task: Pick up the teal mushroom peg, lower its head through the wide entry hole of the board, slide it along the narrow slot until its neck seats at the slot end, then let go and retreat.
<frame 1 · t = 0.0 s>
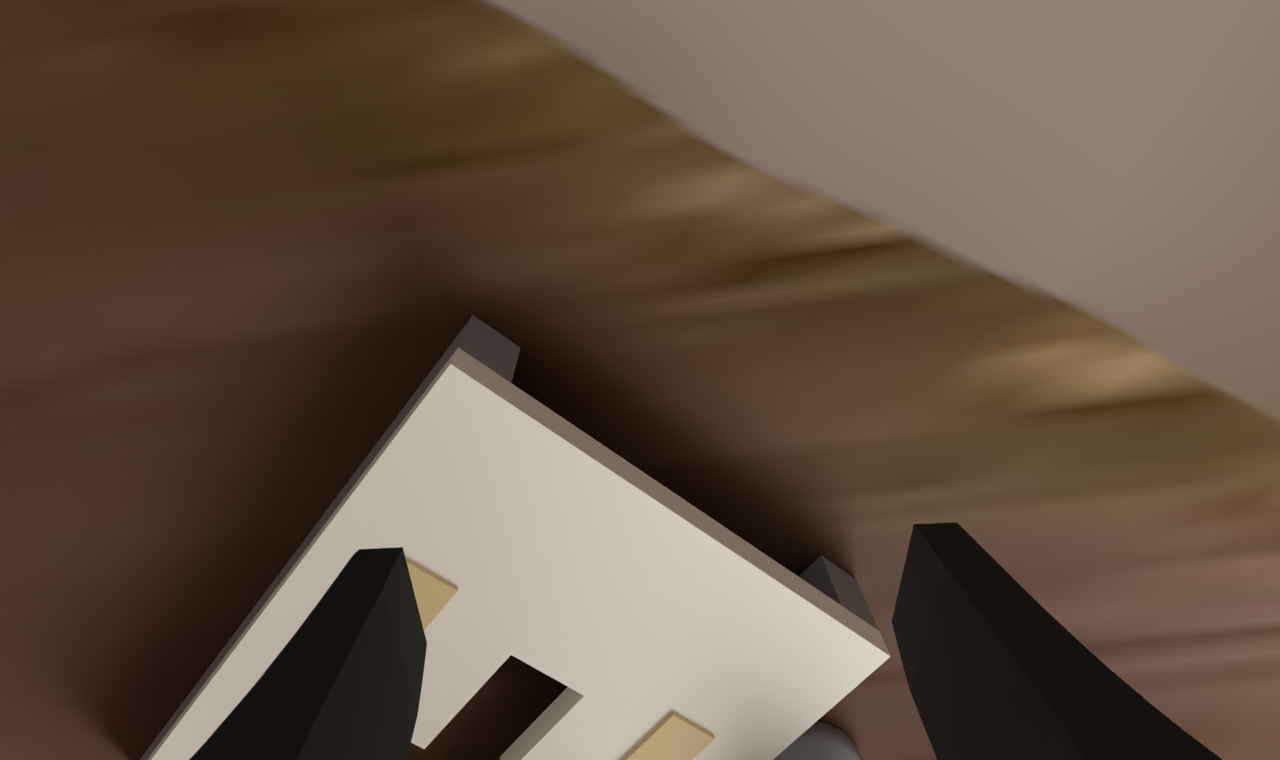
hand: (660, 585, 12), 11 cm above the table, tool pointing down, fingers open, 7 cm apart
board: (481, 676, 26), on the table
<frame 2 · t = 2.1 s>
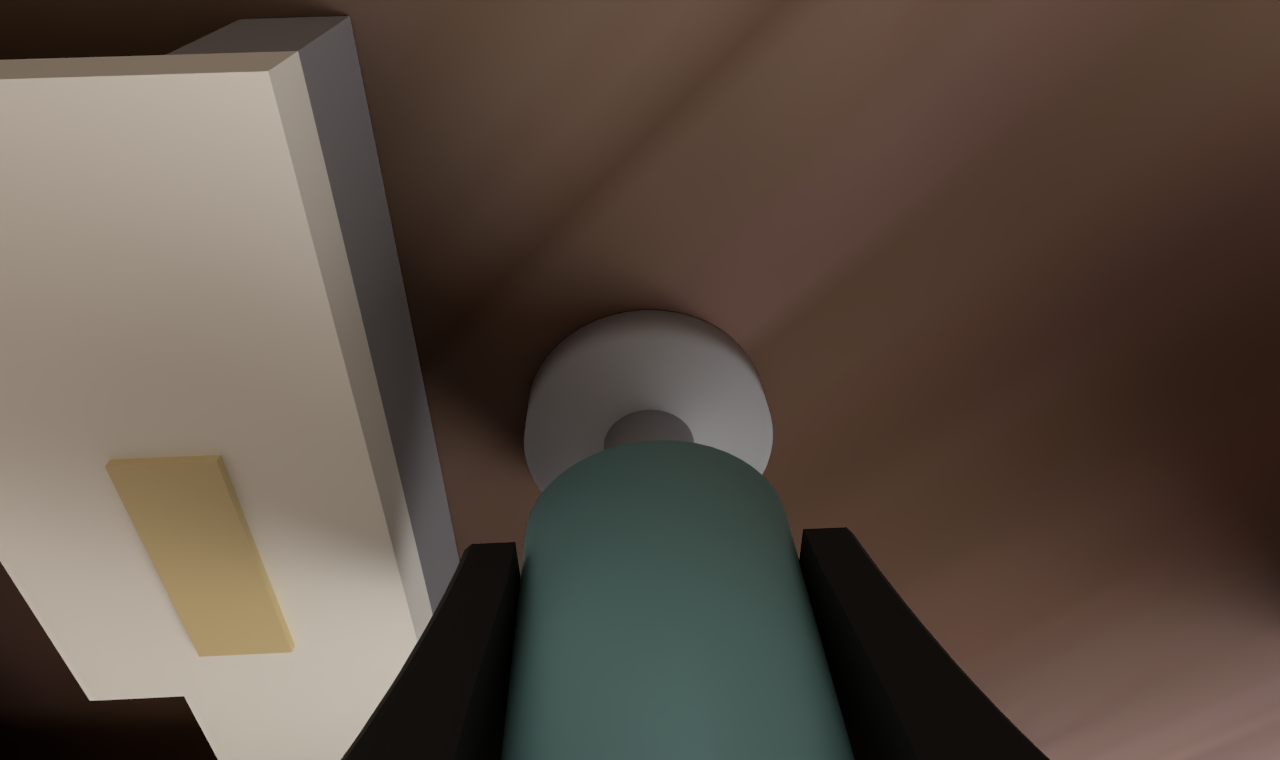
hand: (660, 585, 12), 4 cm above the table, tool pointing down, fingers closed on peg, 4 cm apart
peg: (646, 413, 15), on the table, touching gripper
board: (111, 555, 17), on the table
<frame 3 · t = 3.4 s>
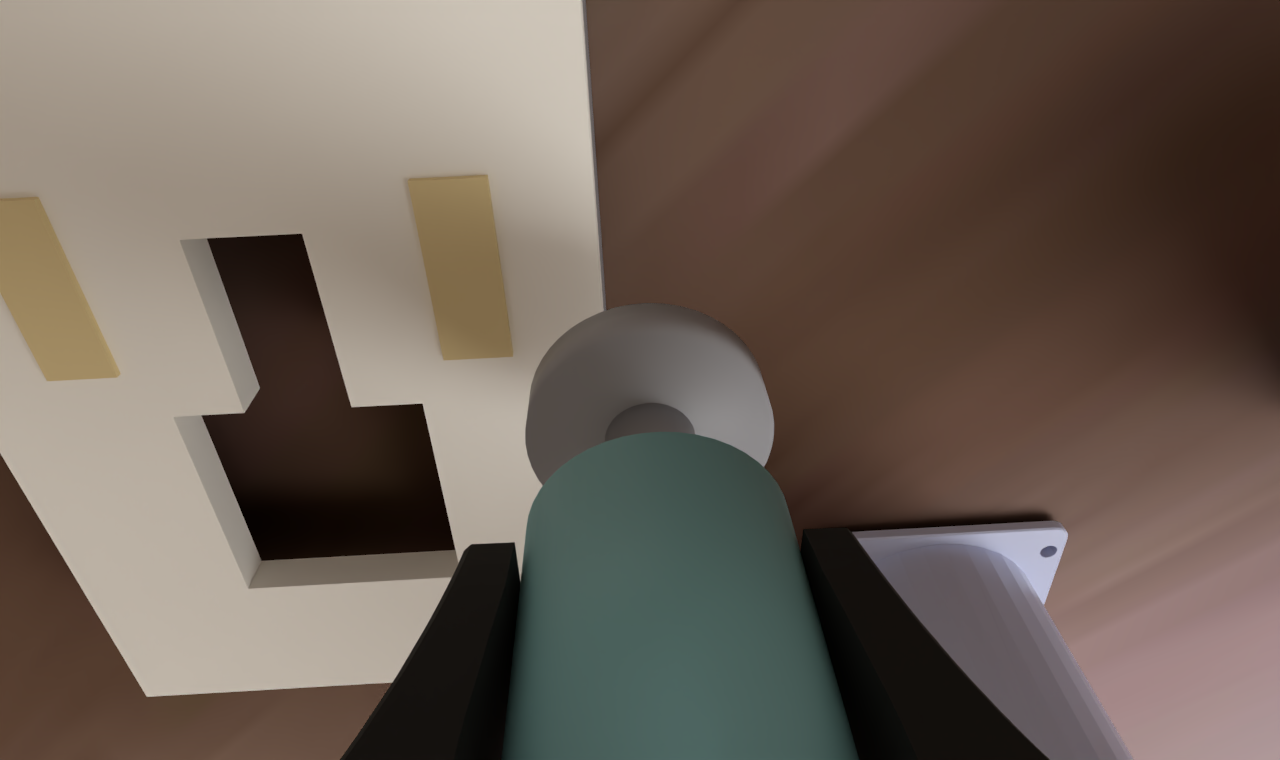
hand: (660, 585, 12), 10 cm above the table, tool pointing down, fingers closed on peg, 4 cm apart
peg: (647, 407, 15), point 6 cm above the table, touching gripper
board: (335, 329, 21), on the table
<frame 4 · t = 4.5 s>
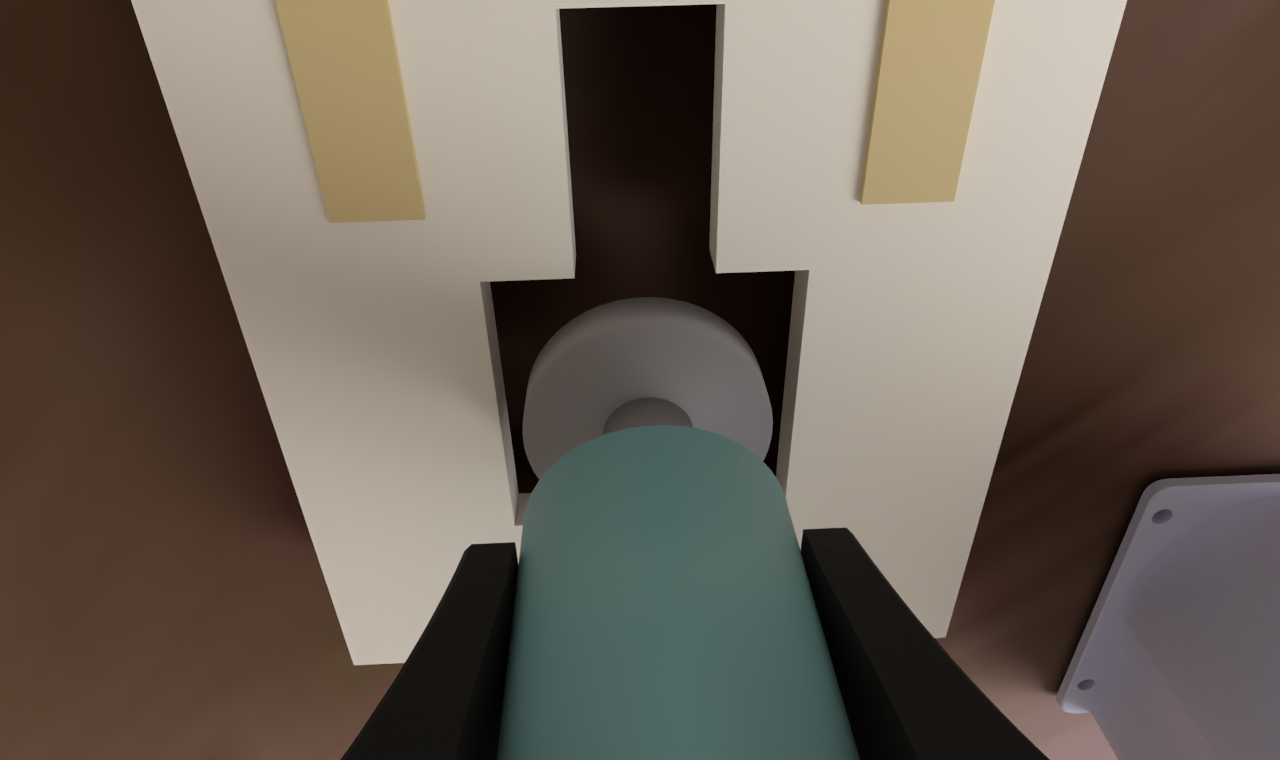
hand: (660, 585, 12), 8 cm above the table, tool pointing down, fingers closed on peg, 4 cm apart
peg: (645, 402, 15), point 3 cm above the table, touching gripper
board: (637, 194, 16), on the table
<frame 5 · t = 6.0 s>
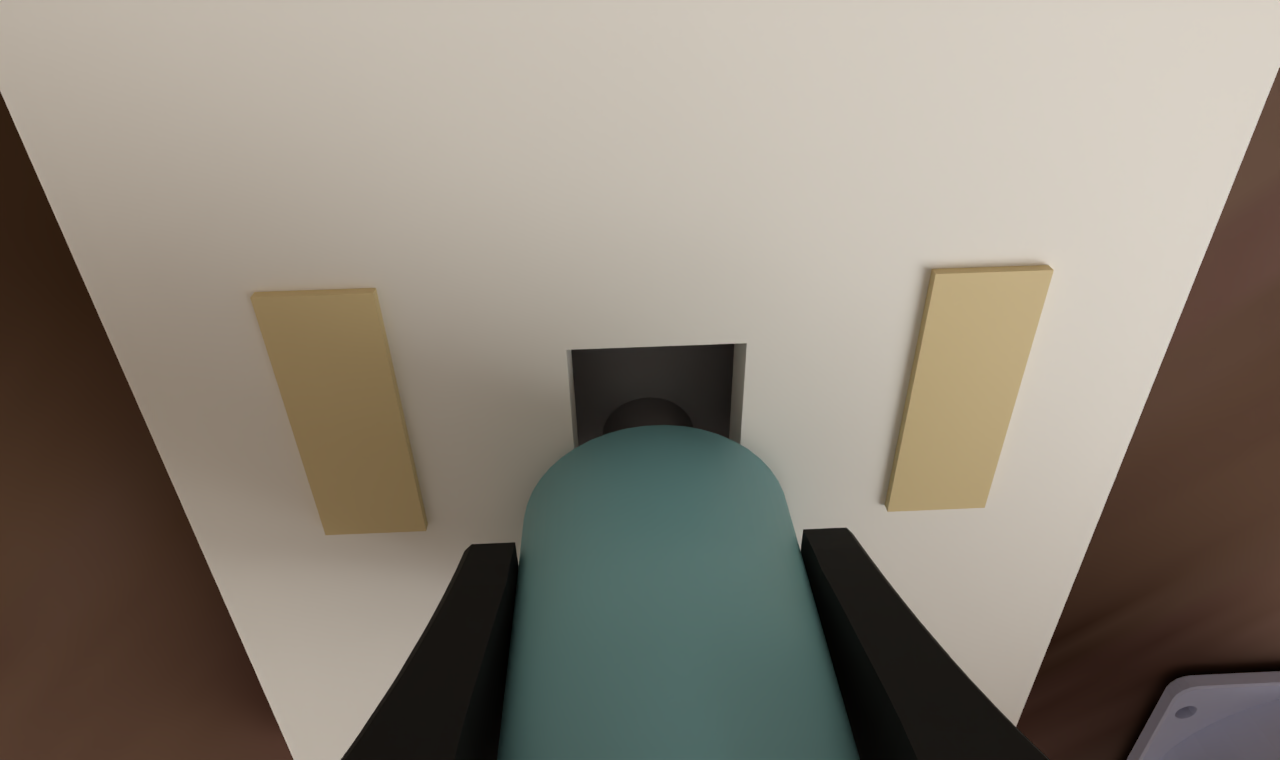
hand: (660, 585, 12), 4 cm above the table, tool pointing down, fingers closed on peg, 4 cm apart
peg: (645, 402, 15), on the table, touching gripper
board: (647, 435, 16), on the table
when the fingers open (4 cm above the table, at t = 7.0 s): peg stays where it is, on the table.
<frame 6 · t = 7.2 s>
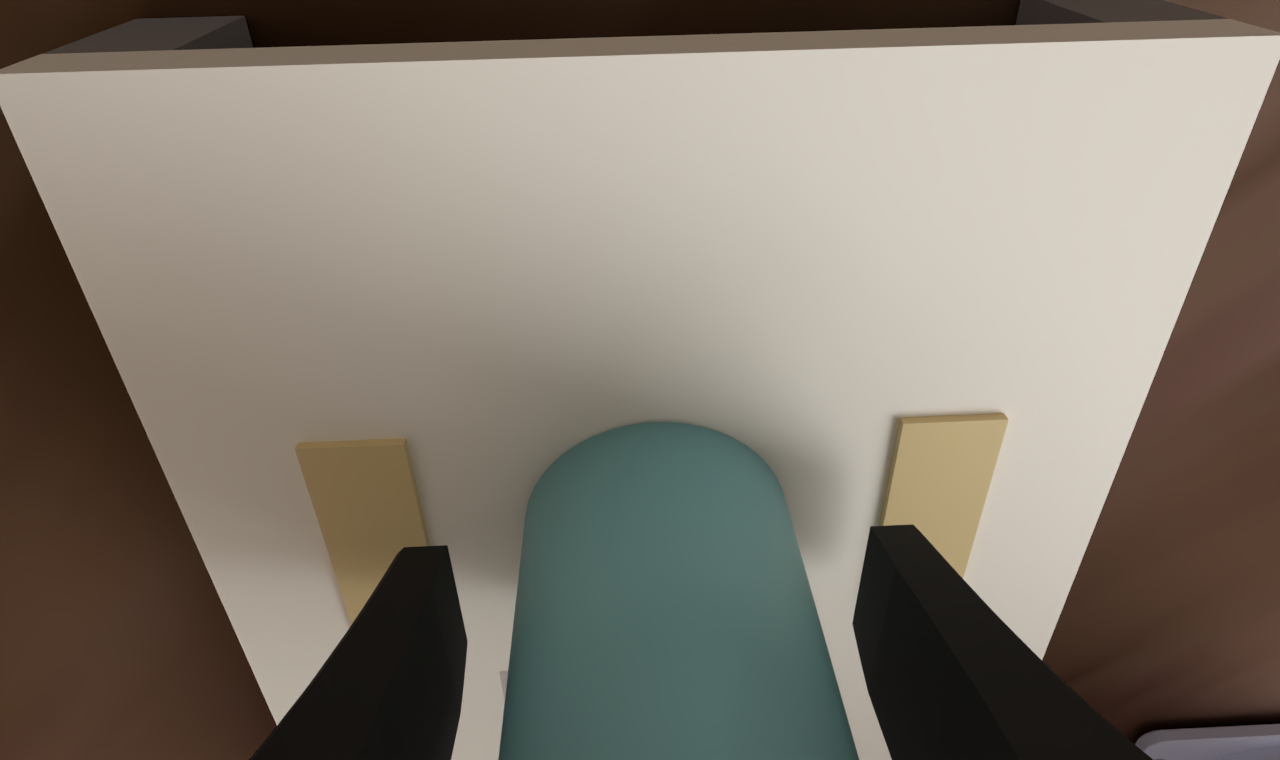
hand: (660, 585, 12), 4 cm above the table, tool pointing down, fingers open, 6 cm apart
peg: (645, 400, 15), on the table
board: (648, 524, 17), on the table
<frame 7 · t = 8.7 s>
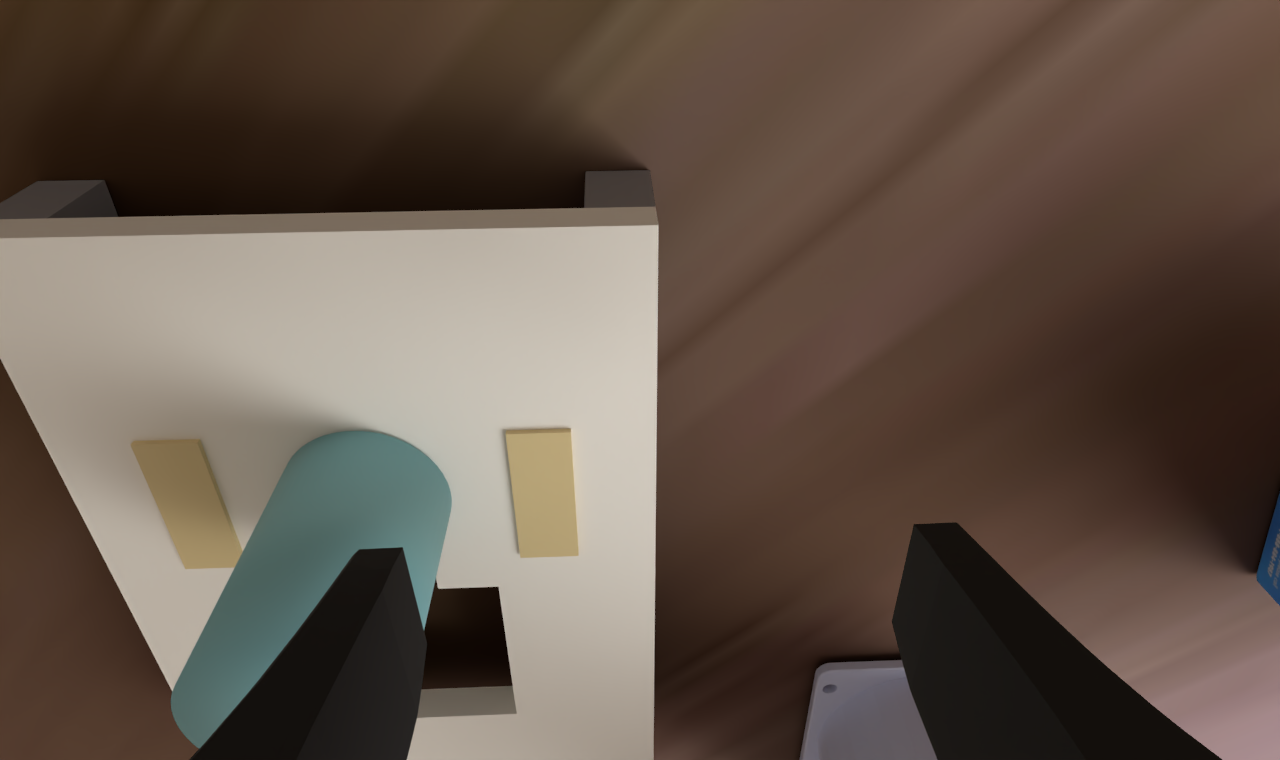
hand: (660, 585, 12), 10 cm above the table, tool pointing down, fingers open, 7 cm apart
peg: (397, 414, 22), on the table
board: (415, 501, 24), on the table
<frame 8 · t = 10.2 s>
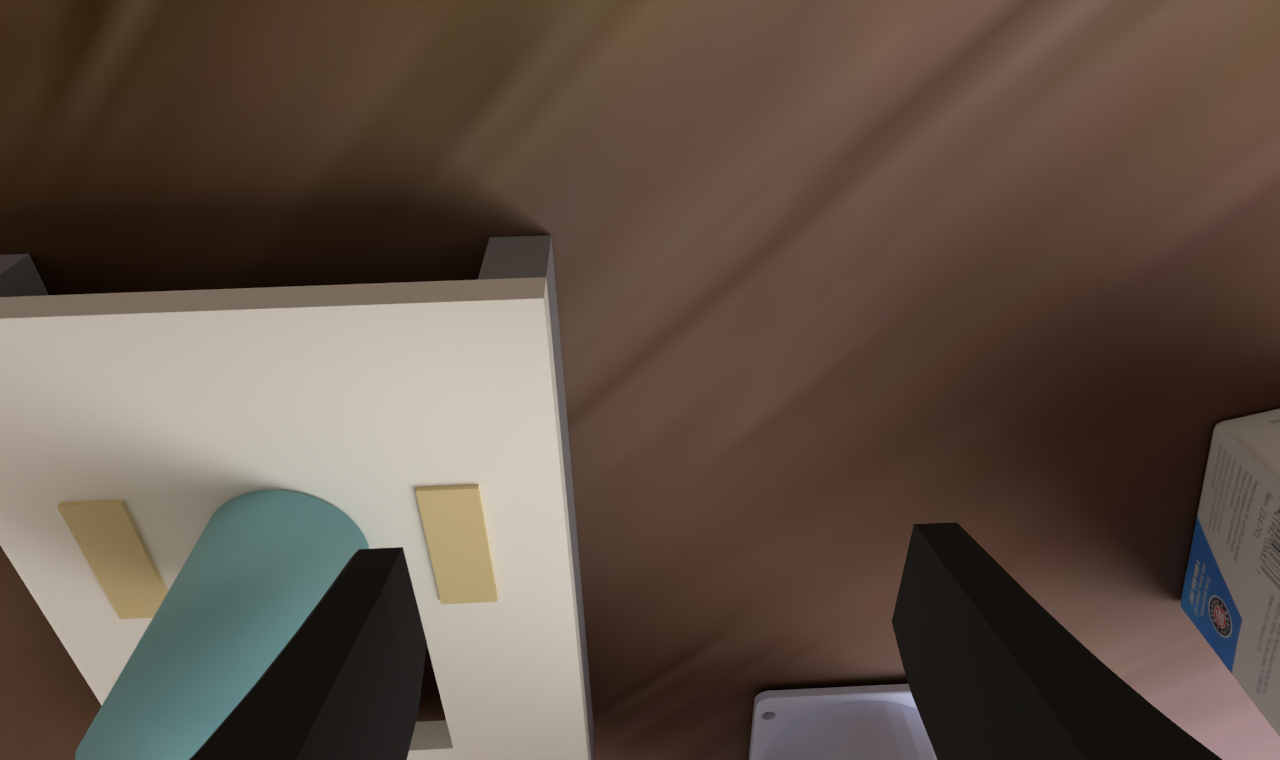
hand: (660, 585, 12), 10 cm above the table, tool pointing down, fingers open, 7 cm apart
ink box: (1263, 498, 26), on the table
peg: (327, 464, 23), on the table
board: (350, 544, 25), on the table
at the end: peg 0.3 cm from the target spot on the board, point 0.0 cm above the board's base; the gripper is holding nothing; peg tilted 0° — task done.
